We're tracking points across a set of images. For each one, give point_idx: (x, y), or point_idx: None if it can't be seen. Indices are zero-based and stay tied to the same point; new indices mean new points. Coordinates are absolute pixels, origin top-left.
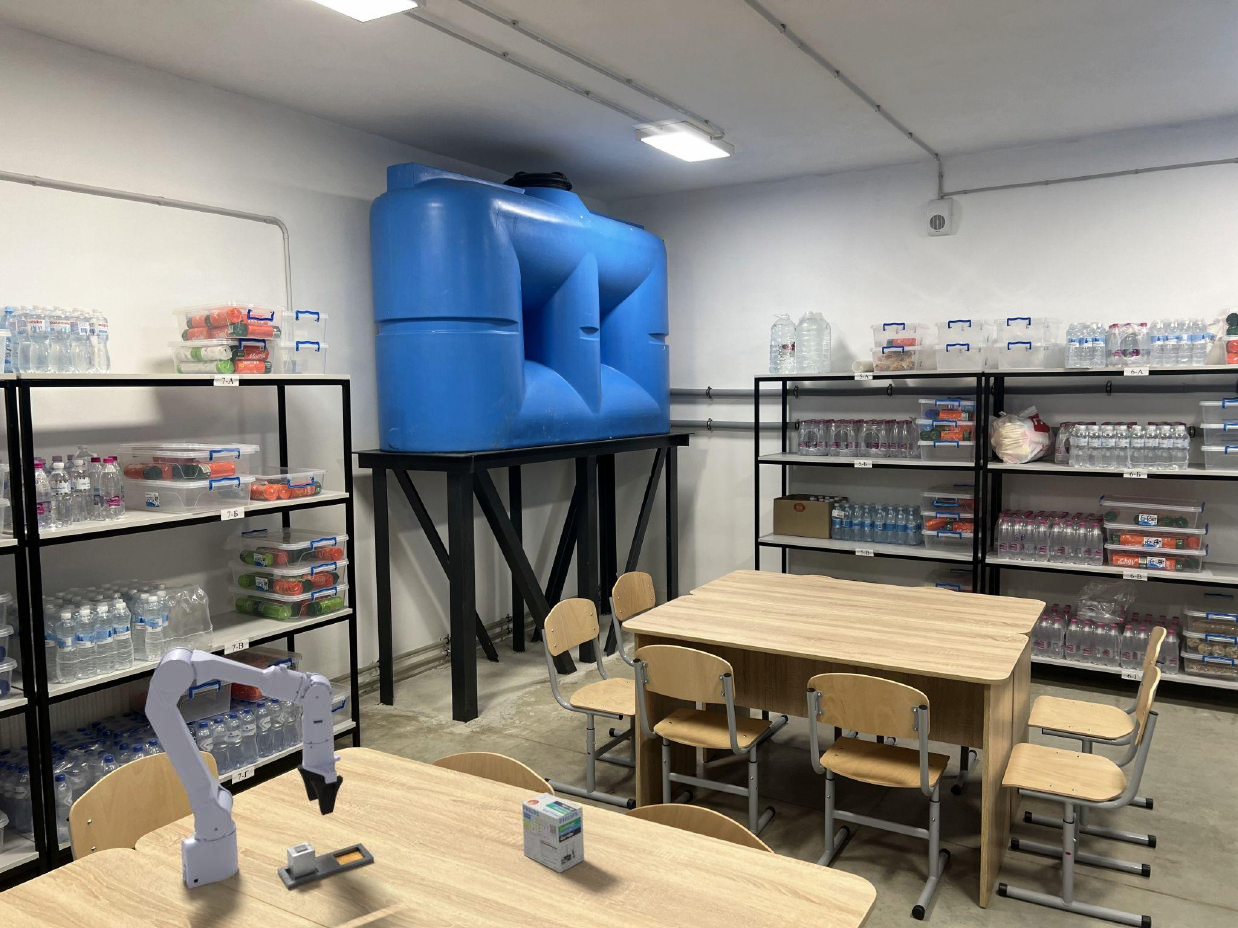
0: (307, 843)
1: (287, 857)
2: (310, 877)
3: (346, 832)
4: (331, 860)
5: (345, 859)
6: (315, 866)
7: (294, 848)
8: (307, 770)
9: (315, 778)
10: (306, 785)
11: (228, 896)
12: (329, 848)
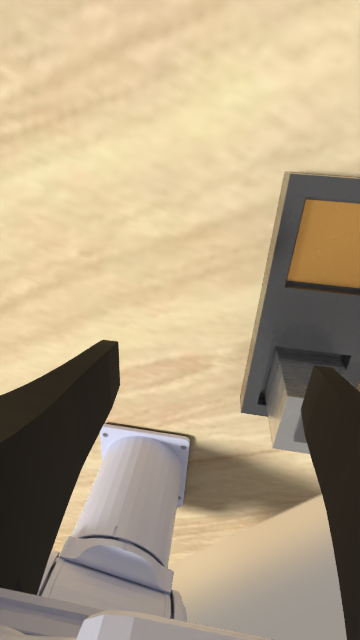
0: (296, 402)
1: (269, 424)
2: (356, 381)
3: (112, 152)
4: (319, 305)
5: (327, 257)
6: (346, 371)
7: (301, 441)
8: (30, 562)
9: (61, 443)
10: (82, 460)
11: (235, 472)
12: (184, 245)
